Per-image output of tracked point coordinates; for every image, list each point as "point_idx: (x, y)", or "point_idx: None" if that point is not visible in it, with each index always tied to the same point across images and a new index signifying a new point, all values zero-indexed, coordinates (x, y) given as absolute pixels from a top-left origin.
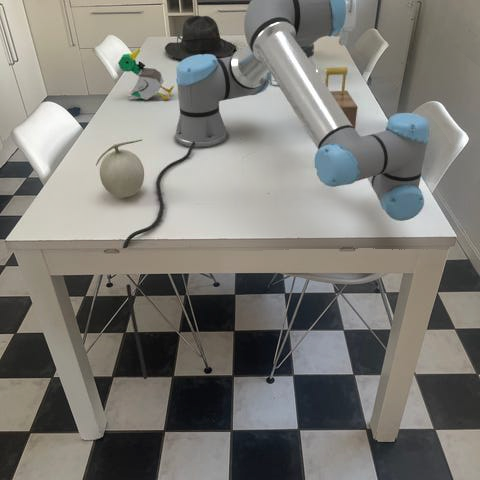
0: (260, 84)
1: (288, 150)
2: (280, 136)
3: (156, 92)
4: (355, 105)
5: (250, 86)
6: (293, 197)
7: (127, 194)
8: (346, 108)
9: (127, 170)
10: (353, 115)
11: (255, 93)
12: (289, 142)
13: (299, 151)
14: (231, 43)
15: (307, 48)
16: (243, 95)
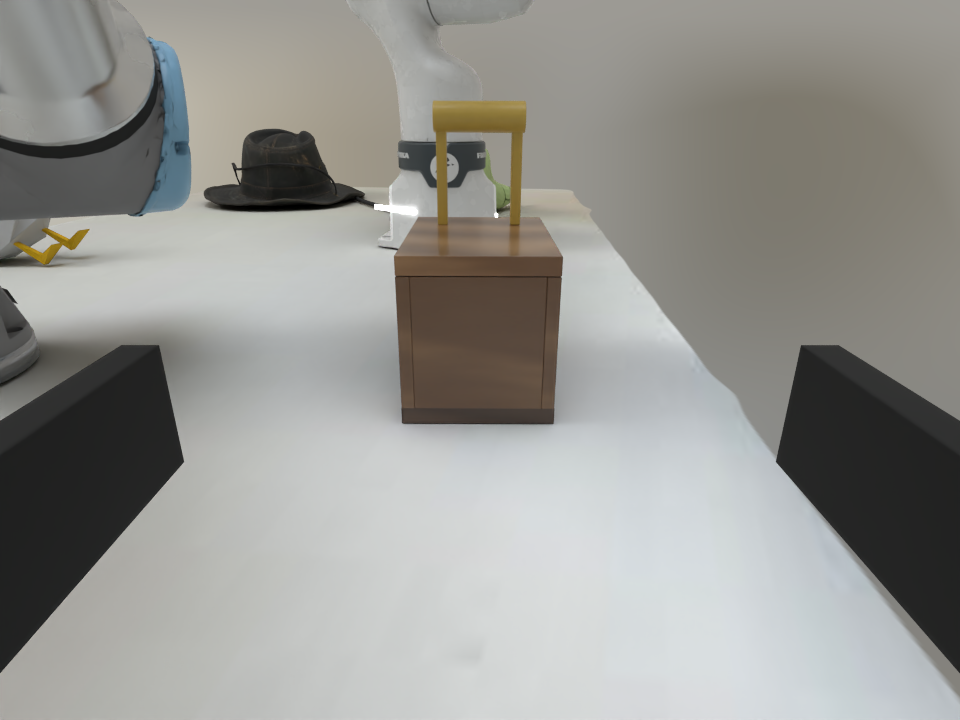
0: (80, 134)
1: (192, 466)
2: (239, 388)
3: (7, 241)
4: (553, 252)
5: (12, 135)
6: None
7: None
8: (505, 263)
9: None
10: (544, 302)
11: (140, 204)
12: (246, 419)
13: (242, 476)
14: (360, 191)
15: (461, 145)
16: (67, 204)
